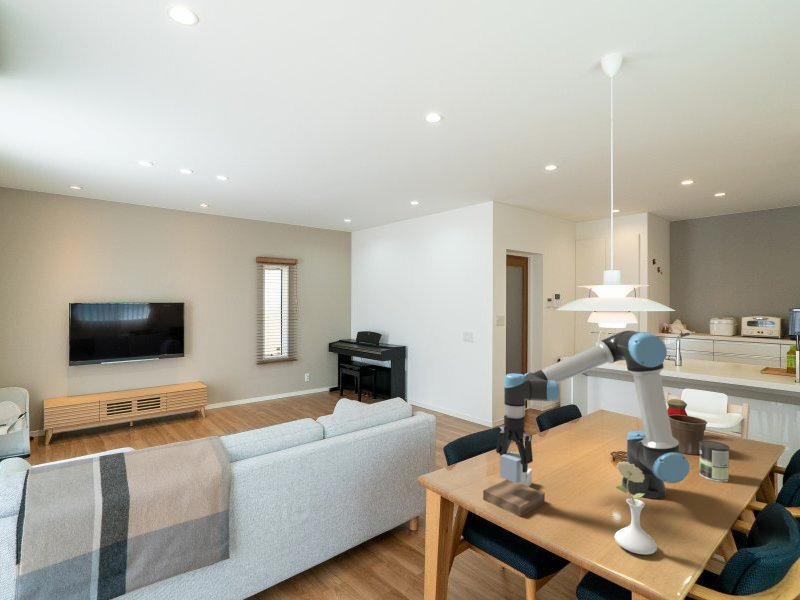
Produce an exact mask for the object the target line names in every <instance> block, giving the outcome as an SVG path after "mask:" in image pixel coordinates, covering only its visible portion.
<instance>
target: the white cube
mask: <svg viewBox="0 0 800 600" xmlns="http://www.w3.org/2000/svg"><path fill="white" fill-rule="evenodd" d="M518 483H520V484H523V485H525V486H528V487H531V485H532V484H533V469H532V468H528V471H527V478H526V480H524V481H522V482H521V481H520V482H518Z"/></svg>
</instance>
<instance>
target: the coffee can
mask: <svg viewBox="0 0 800 600" xmlns="http://www.w3.org/2000/svg"><path fill="white" fill-rule="evenodd" d="M699 444H700V454H699V467H698V468H699V470H698V471H699V472H698V473H699V474H698V475H699V476H700V477H702V478H704V479H706V480H707V481H708V480H709V481H712V482H719V483H726V482H729V480H730V475H729V472H730V469H729V468H730V466H729V465H730V464H729V463H730V461H729V460H730V446H729V445H728V444H725V443H723V442H720V441H716V440H708V439H706V440H705V439H703V441H700V442H699Z"/></svg>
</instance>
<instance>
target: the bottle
mask: <svg viewBox="0 0 800 600" xmlns="http://www.w3.org/2000/svg"><path fill="white" fill-rule="evenodd" d="M666 405H667V406H668V407H667V412H668V416H669V415H685V416H689V415H688V414H687V411H686V408H687V406H688V403H686V402H685V401H684V400H682V399H679V398H677V399H676V398H670V399H669V400H667V401H666ZM669 422H670V421H669ZM670 427H671V425H670Z"/></svg>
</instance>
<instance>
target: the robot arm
mask: <svg viewBox="0 0 800 600" xmlns="http://www.w3.org/2000/svg"><path fill="white" fill-rule="evenodd" d="M667 354H668V350H667V346H666V344H665V342H664V341H663V339H661V338H660V337H659V336H657V335H655V334H653V333H649V332H645V331H644V332H643V331H635V330H623V331H621V332H618V333H615V334H613V335H611V336H608V337H606V338H604V339H602V340H599V341H598V343H597V345H595V346H593V347H590V348H587V349H586V350H583V351H581V352H578V353H576V354H574V355H572V356H569V357H567V358H564V359H563V360H561V361H560V360H559V361H558V362H556V363H553V364H551V365H549V366H547V367H544V368H541V369H540V370H537V371H535V372H527V373H525V374H522V373H513V372H512V373H507V374H506V375H505V377H504V385H503V386H504V396H503V397H504V398H503V399H504V403H503V404H504V405H503V414H504V417H503V425H504V427H503V426H499V427H498V428H497V429H496V430H497V441H496V450H495V452H496V454H499V456H500V457H501V455H504V454H506V453H508V450H509V448H510V445H511V443H512V441H513V442H515V445H516V446H517V450H518V454H520V457H521V461H522V462H521V463H520V481H521V482H522V481H524V480H526V472H527V471H528V466H529V465H528V464H531V463H533V461H534V460H533V459H534V458H533V449H532V439H533V435H532V434H527V433H526V431H525V425H526V421H525V420H526V417H525V416H526V415H525V414H526V401H539V402H540V401H541V402H556V401H558V399H559V396H560V386H559V384H560V383H562V382H565V381H567V380H569V379H571V378H574V377H576V376H579V375H581V374H583V373H586V372H587V371H591V370H593V369H595V368H597V367H599V366H601V365H602V366H603V365H605V364H607V363H608V364H614V363H616V362H620V361H625V363H626V368H627V371H628V372H629V373H631V374H632V376H633V381H634V387H635V391H636V395H637V400H638V405H639V410H640V416H641V423H642V427H643V430H631V431H629V432H627V437H626V462H629V463H630V464H634V465H635V467H636V468H639V469H640V470H641V471H642V474H643V475H644V477H645V479H644V480H643V482H639V483H638V482H633V481H630V480H629V481H628V490H629V492H630V494H631V495H635V494H638V493H642V494H644V493H645V494H644V495H643V496H642V498H647V499H662V498H665V497H666V495H667V488H666V485H665V483H666V484H667V483H668V484H677V483H680V482H682V481H683V480H684V479H685V478H686V477H687V476H688V475H689V473H690V467H691V466H690V461H689V460H688V459H687V457H686V456H685V455H684V454H683V453H681V452H680V447H679V442H678V440H676V439H675V438H674V437H672V432H671V427H670V422H669V417H668V412H667V409H668V407H667V406H668V405H667V401H666V397H665V392H664V387H663V382H662V376H661V372H662V371H663V370H664V369H665V366H664V362H665V360H666V358H667ZM622 476H623V475H622ZM627 480H628V478H625V477H624V476H623V477H622V479H621V485H622V486H623V487H625V488H626V489H627ZM629 492H628V493H629Z"/></svg>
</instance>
